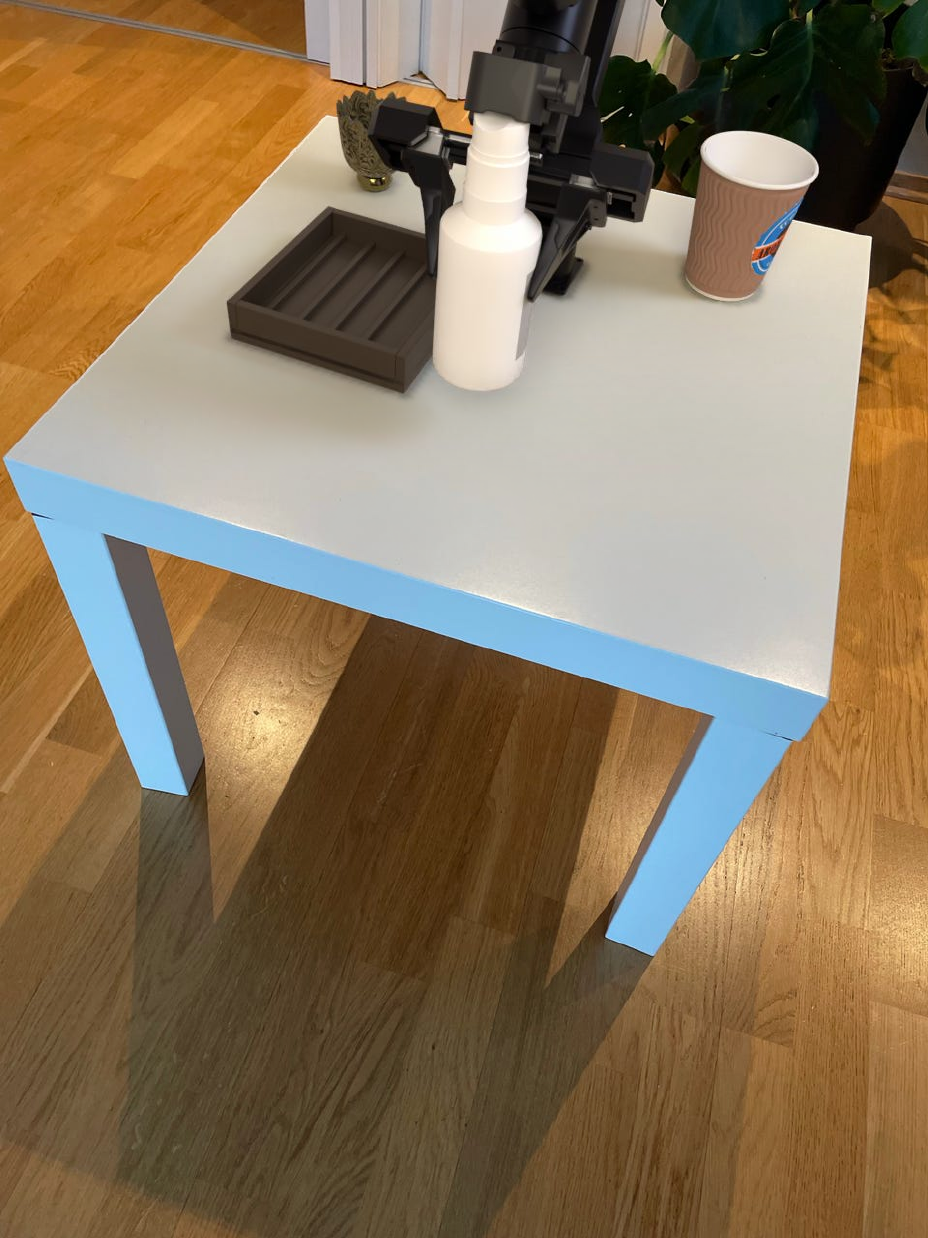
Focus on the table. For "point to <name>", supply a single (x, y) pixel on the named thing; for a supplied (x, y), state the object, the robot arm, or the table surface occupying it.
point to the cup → (362, 139)
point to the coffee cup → (743, 210)
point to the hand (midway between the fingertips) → (480, 289)
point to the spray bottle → (487, 261)
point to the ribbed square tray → (344, 300)
